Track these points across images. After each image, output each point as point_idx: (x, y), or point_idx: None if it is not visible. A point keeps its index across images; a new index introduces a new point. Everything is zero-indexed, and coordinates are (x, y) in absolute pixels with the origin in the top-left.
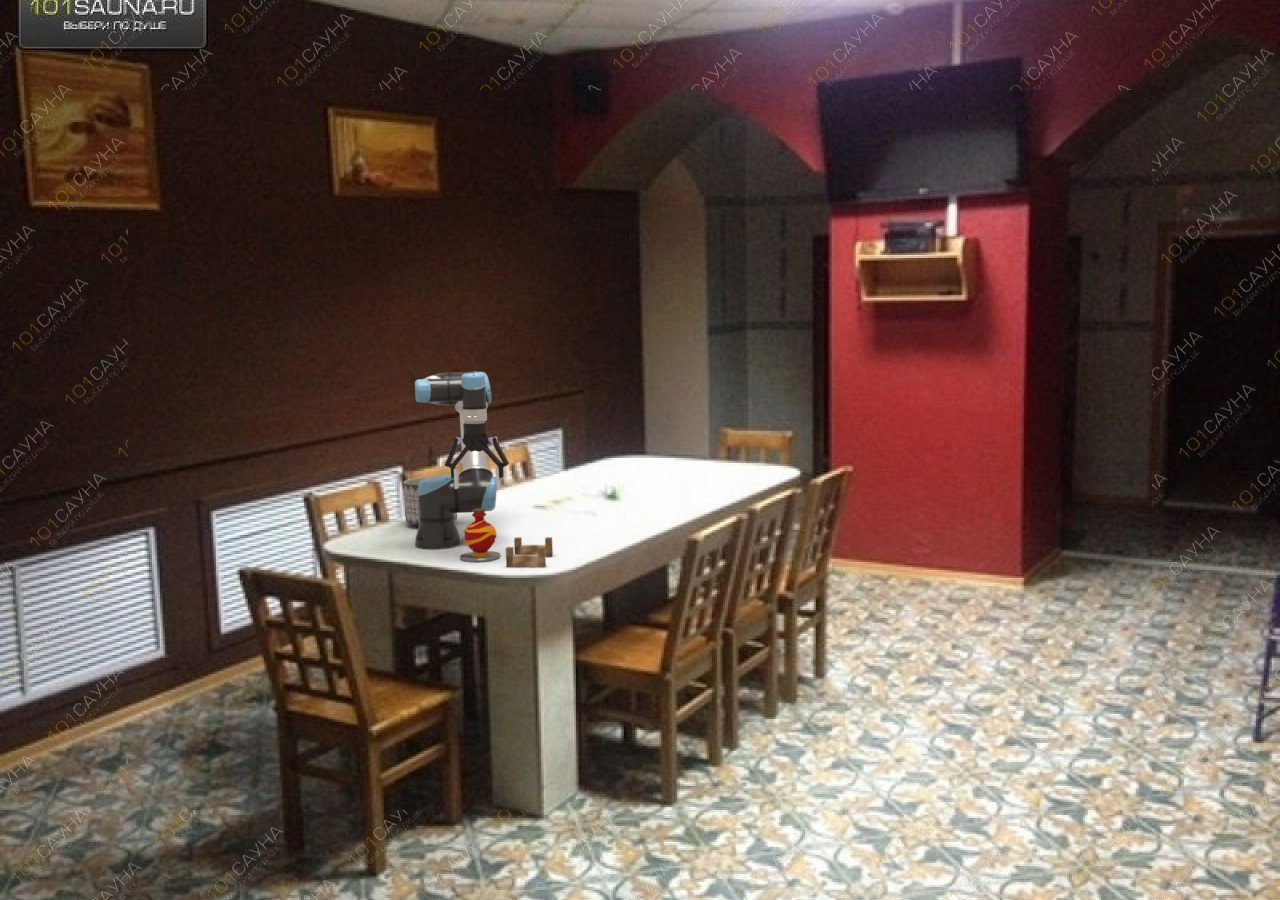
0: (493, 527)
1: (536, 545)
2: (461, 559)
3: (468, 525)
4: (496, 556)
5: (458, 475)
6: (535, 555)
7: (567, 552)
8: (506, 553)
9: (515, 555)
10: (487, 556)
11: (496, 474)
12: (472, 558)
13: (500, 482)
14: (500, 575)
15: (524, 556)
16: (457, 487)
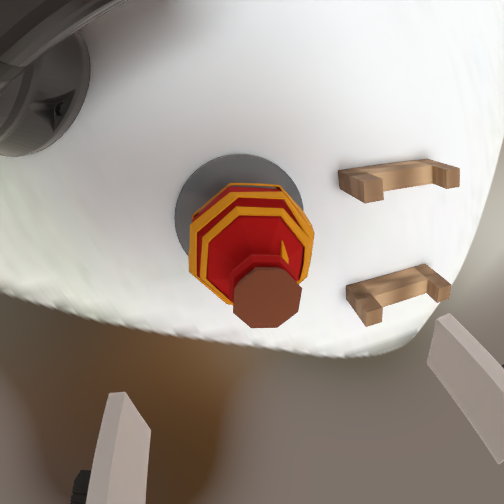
0: (311, 240)
1: (410, 176)
2: None
3: (213, 287)
4: None
5: (109, 475)
6: (421, 288)
7: (448, 121)
8: (361, 318)
9: (378, 301)
10: None
11: (477, 431)
12: None
13: (469, 338)
14: (347, 356)
15: (398, 301)
16: (143, 427)
